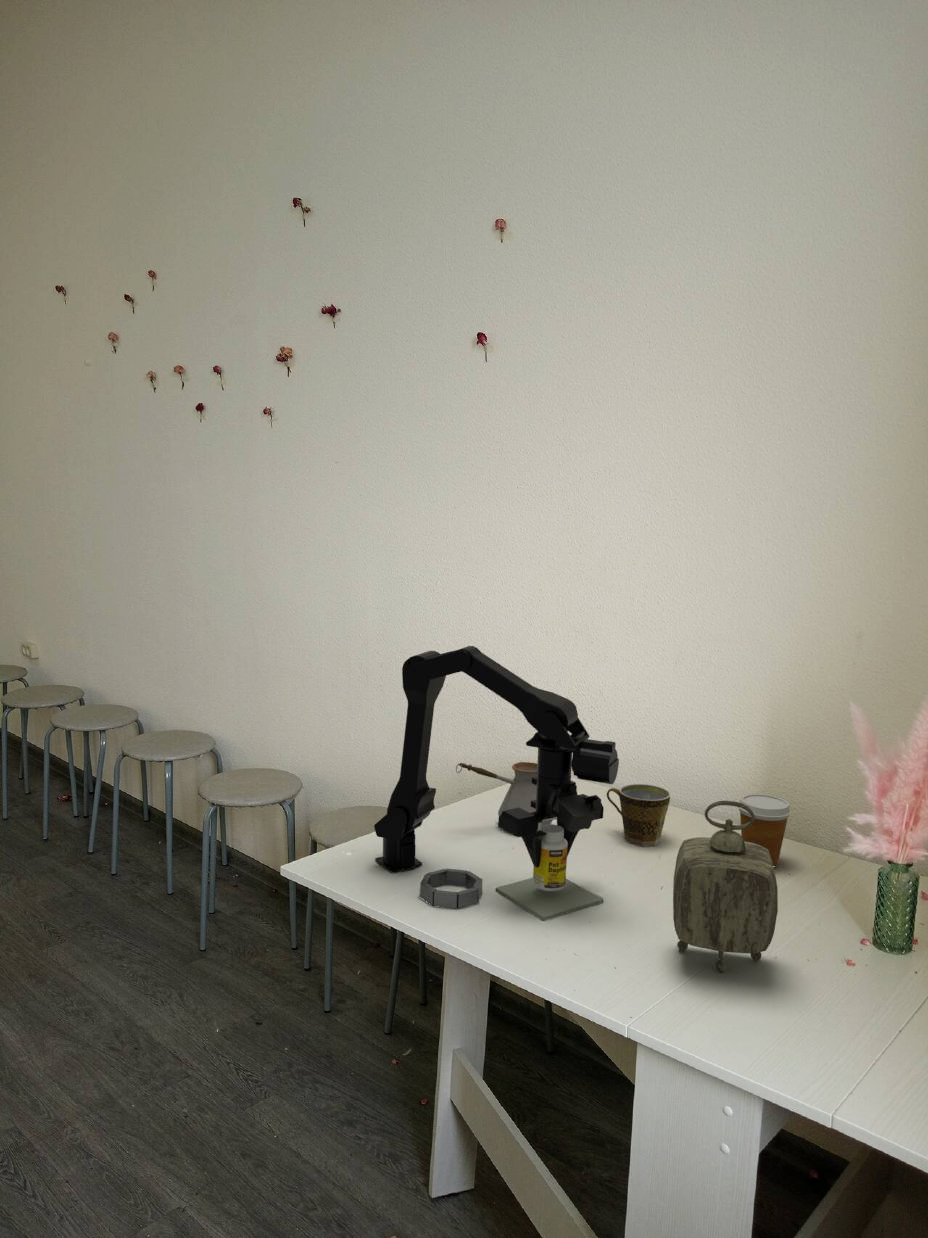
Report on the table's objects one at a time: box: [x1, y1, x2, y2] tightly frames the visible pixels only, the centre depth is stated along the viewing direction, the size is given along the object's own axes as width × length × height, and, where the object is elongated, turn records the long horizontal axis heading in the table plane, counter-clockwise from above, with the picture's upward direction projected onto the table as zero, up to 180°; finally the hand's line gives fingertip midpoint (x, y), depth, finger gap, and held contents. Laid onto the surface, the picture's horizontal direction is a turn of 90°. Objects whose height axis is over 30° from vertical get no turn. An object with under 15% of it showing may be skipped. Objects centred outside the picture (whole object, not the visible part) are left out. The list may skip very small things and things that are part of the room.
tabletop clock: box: [672, 800, 779, 973], centre depth 137 cm, size 14×9×25 cm, turn 77°
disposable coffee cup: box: [737, 793, 792, 866], centre depth 177 cm, size 10×10×12 cm
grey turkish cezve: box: [455, 761, 553, 826], centre depth 189 cm, size 21×12×15 cm, turn 113°
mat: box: [495, 877, 604, 922], centre depth 160 cm, size 13×13×1 cm
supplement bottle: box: [532, 823, 568, 891], centre depth 159 cm, size 6×6×10 cm
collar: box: [419, 868, 483, 910], centre depth 159 cm, size 10×10×2 cm
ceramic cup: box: [606, 783, 671, 847], centre depth 187 cm, size 13×10×10 cm
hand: (549, 863), depth 159 cm, fingers closed on supplement bottle, 5 cm apart
